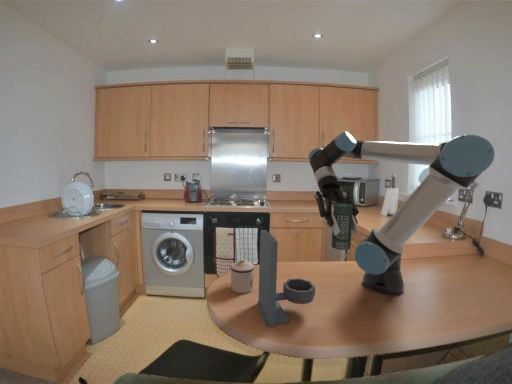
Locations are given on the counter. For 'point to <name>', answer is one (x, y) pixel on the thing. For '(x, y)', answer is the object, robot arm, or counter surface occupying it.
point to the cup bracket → (268, 298)
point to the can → (342, 226)
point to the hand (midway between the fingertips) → (347, 233)
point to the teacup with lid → (242, 276)
